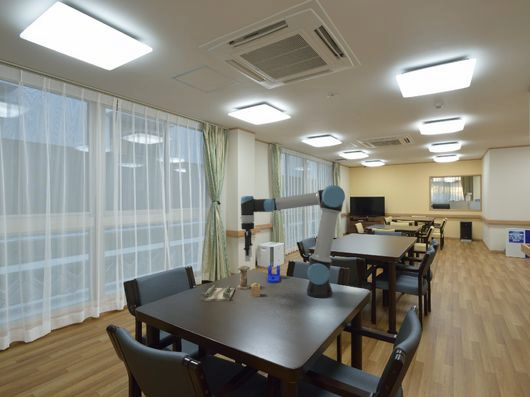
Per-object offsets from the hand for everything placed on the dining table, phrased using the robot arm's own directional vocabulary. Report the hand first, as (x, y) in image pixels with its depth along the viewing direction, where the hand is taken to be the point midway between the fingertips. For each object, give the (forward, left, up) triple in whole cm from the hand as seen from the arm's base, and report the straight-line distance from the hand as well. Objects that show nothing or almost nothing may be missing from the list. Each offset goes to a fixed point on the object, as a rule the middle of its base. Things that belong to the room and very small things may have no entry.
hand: (248, 259), depth 165 cm
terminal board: (+18, -4, -22) cm, 29 cm away
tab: (-4, -4, -22) cm, 23 cm away
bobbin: (+5, -19, -22) cm, 30 cm away
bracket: (-13, -38, -23) cm, 46 cm away
